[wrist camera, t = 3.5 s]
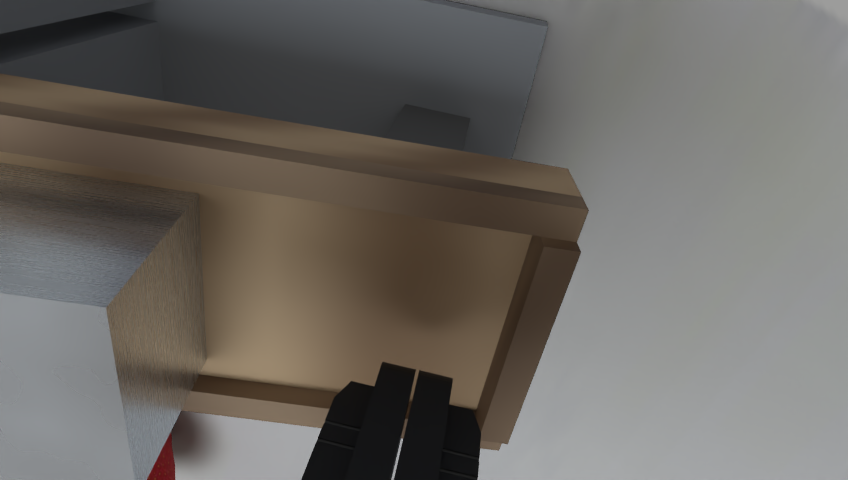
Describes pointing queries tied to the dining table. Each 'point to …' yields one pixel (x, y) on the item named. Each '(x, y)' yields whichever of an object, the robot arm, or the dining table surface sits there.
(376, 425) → the robot arm
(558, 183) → the beam
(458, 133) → the pivot stand
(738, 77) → the dining table surface
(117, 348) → the block
